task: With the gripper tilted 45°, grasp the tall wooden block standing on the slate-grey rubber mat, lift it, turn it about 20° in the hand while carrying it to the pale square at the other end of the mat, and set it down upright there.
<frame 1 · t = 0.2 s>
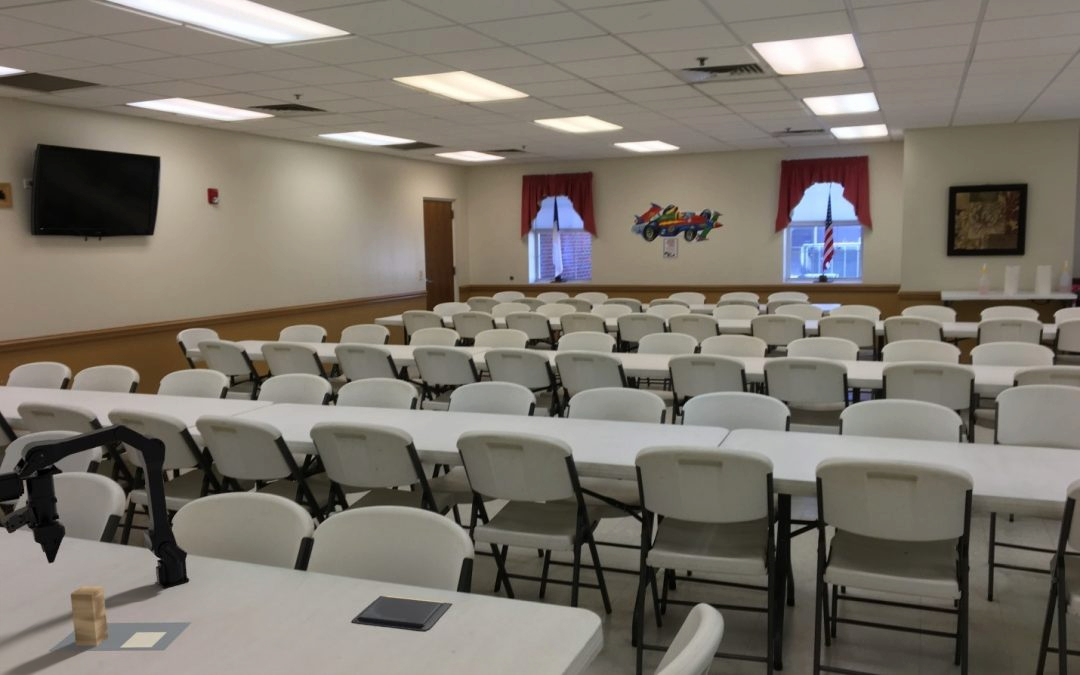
hand: (48, 557, 201), 14 cm above the table, fingers open, 9 cm apart
rubber mat: (122, 638, 189), on the table
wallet: (402, 616, 198), on the table
wooden block: (92, 641, 187), resting on rubber mat
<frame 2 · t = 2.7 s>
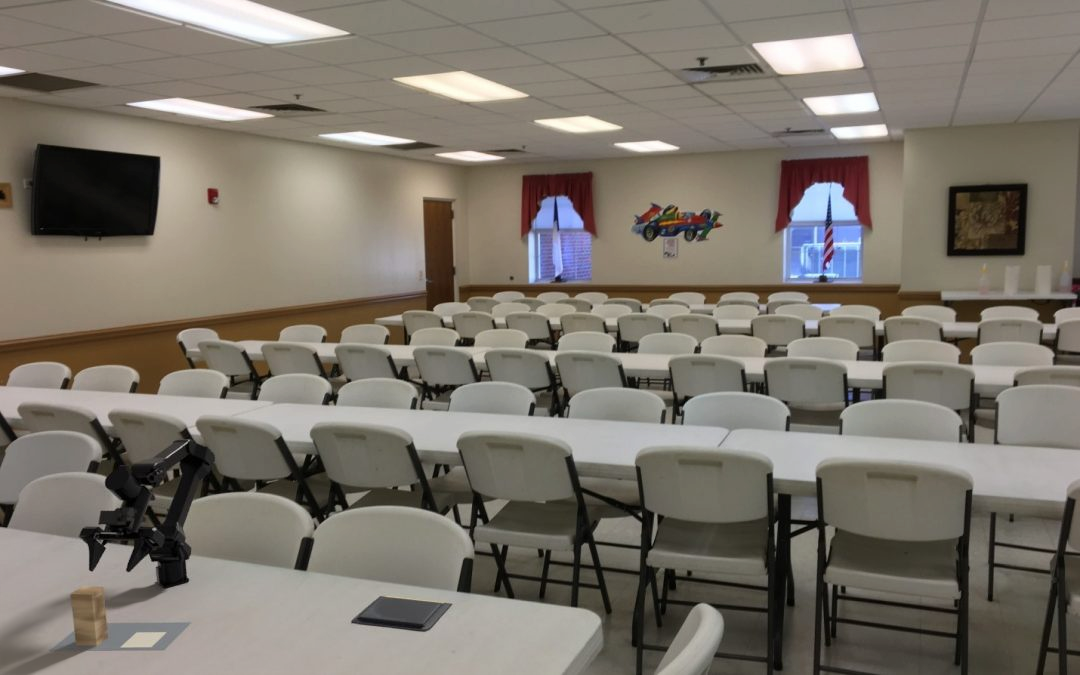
hand: (109, 571, 194), 14 cm above the table, fingers open, 9 cm apart
nothing on the table moved.
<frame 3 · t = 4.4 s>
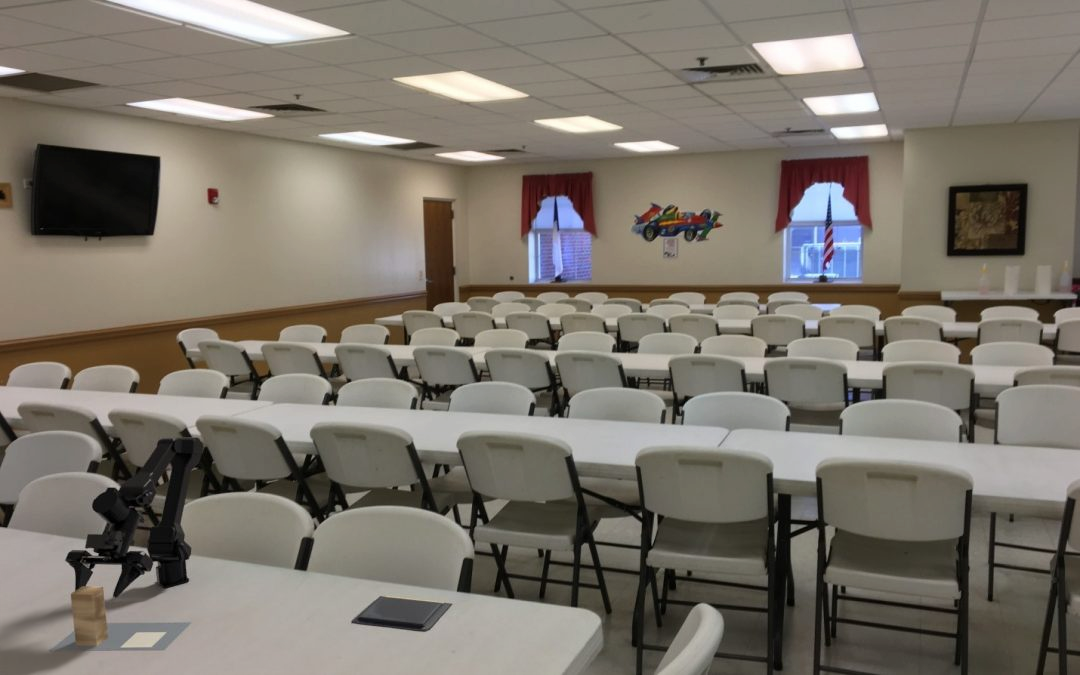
hand: (95, 596, 189), 10 cm above the table, fingers open, 9 cm apart
nothing on the table moved.
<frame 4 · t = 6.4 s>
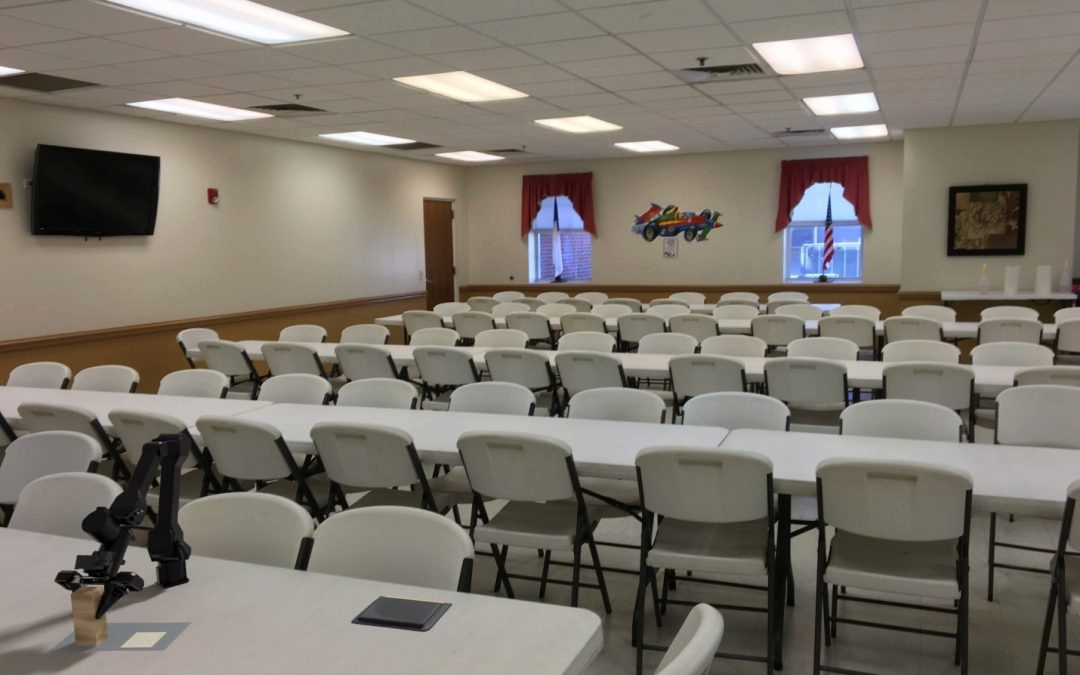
hand: (85, 618, 185), 7 cm above the table, fingers closed on wooden block, 5 cm apart
wooden block: (92, 641, 187), resting on rubber mat, touching gripper
everything else where it was.
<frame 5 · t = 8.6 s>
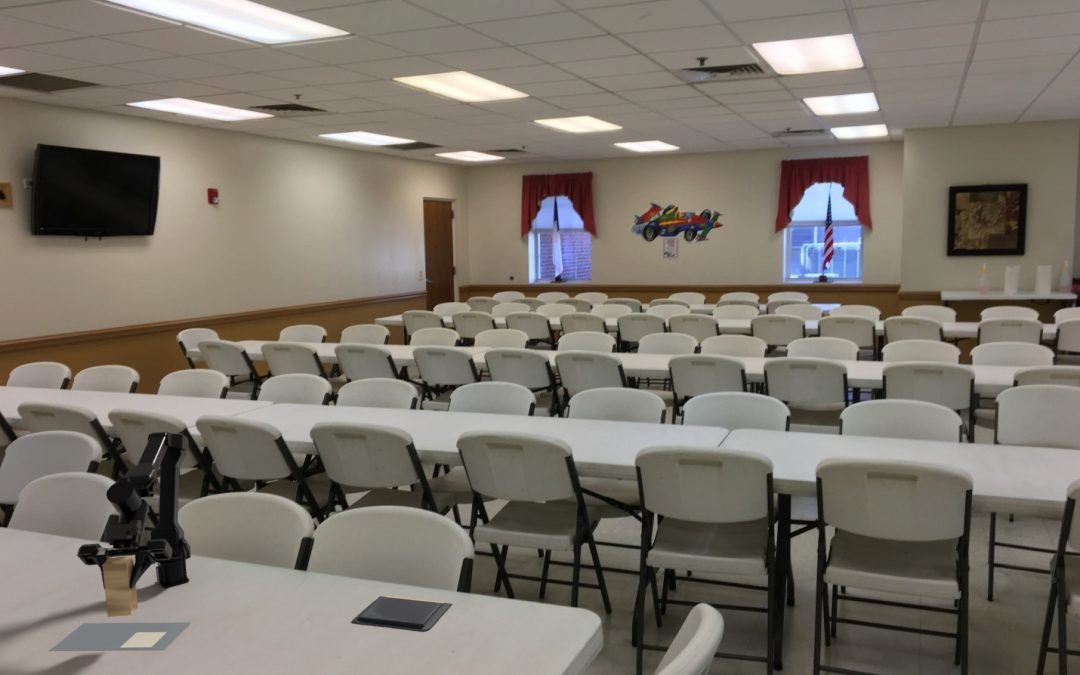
hand: (118, 588, 184), 13 cm above the table, fingers closed on wooden block, 5 cm apart
wooden block: (123, 612, 186), point 7 cm above the table, touching gripper
everything else where it was.
when the fingers open (7 cm above the table, at t = 10.8 s): wooden block stays where it is, resting on rubber mat.
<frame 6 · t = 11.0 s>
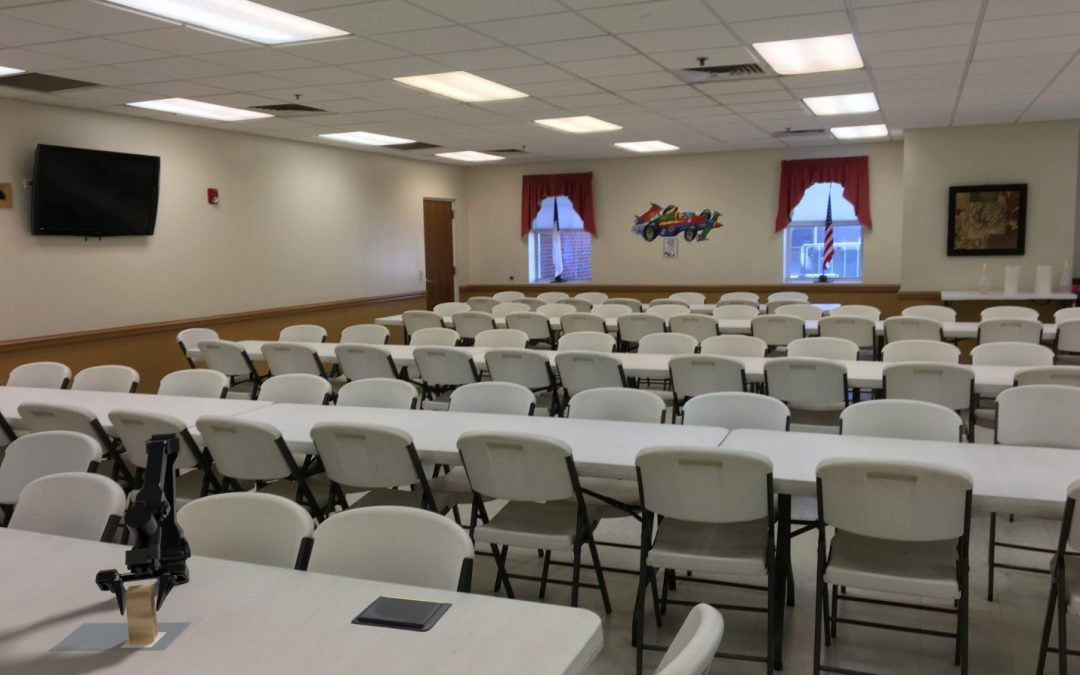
hand: (139, 612, 185), 8 cm above the table, fingers open, 7 cm apart
wooden block: (143, 639, 187), point 1 cm above the table, touching rubber mat
everything else where it was.
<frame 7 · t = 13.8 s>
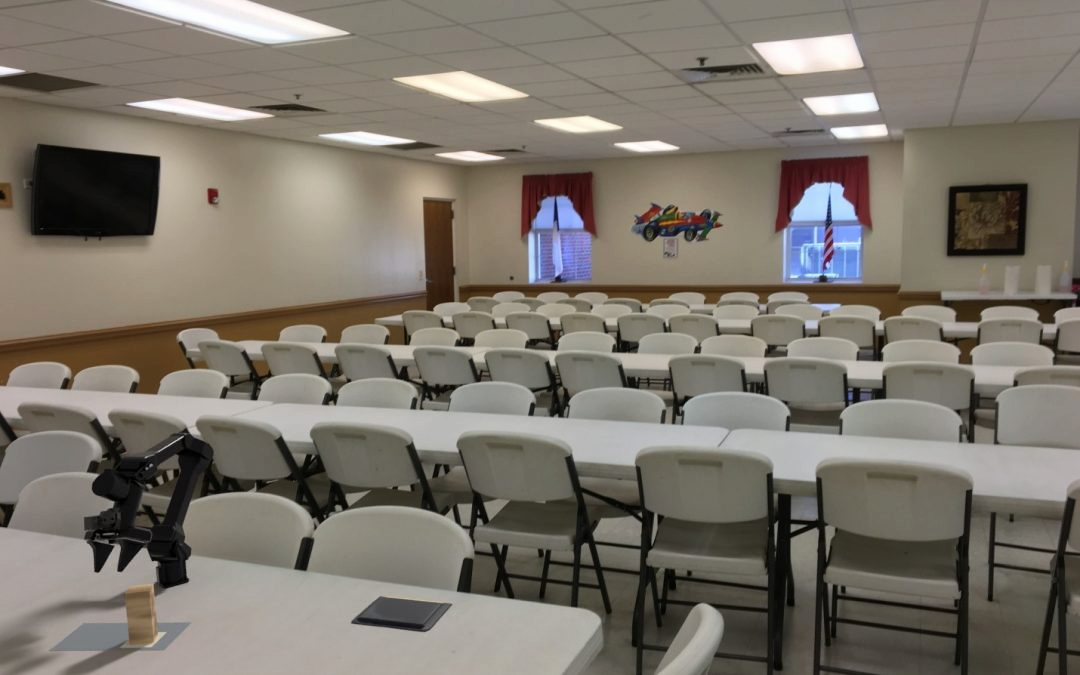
hand: (107, 572, 196), 12 cm above the table, fingers open, 9 cm apart
nothing on the table moved.
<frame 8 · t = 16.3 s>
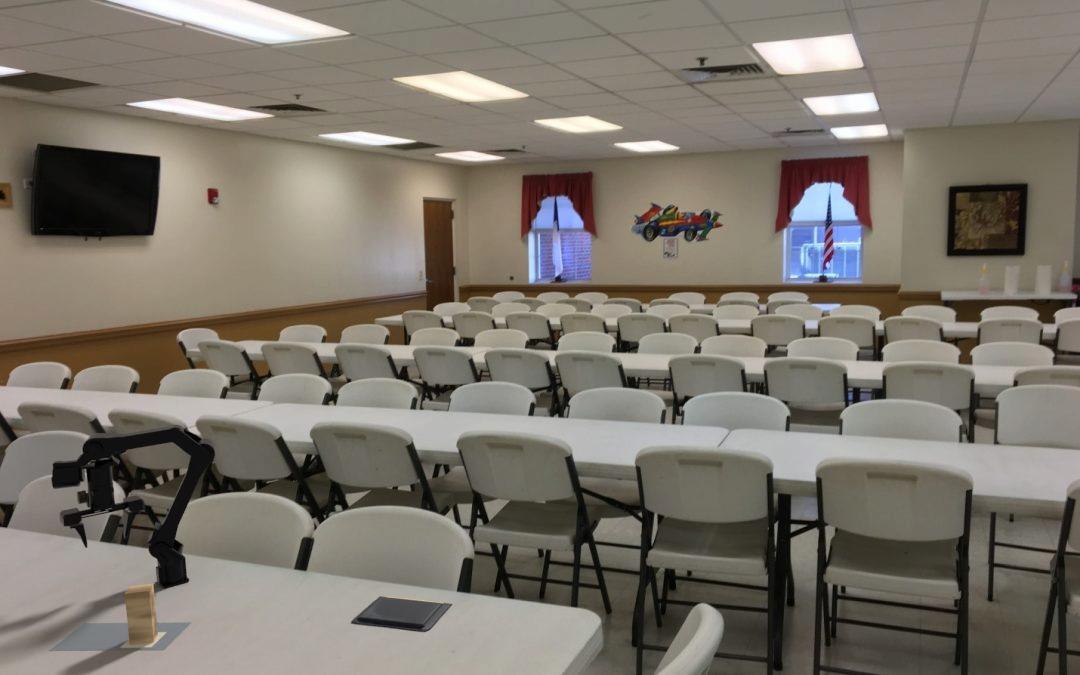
hand: (106, 542, 214), 13 cm above the table, fingers open, 9 cm apart
nothing on the table moved.
at the end: wooden block inside the target area (0.0 cm from its centre), point 0.6 cm above the table; wooden block tilted 0°; the gripper is holding nothing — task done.
